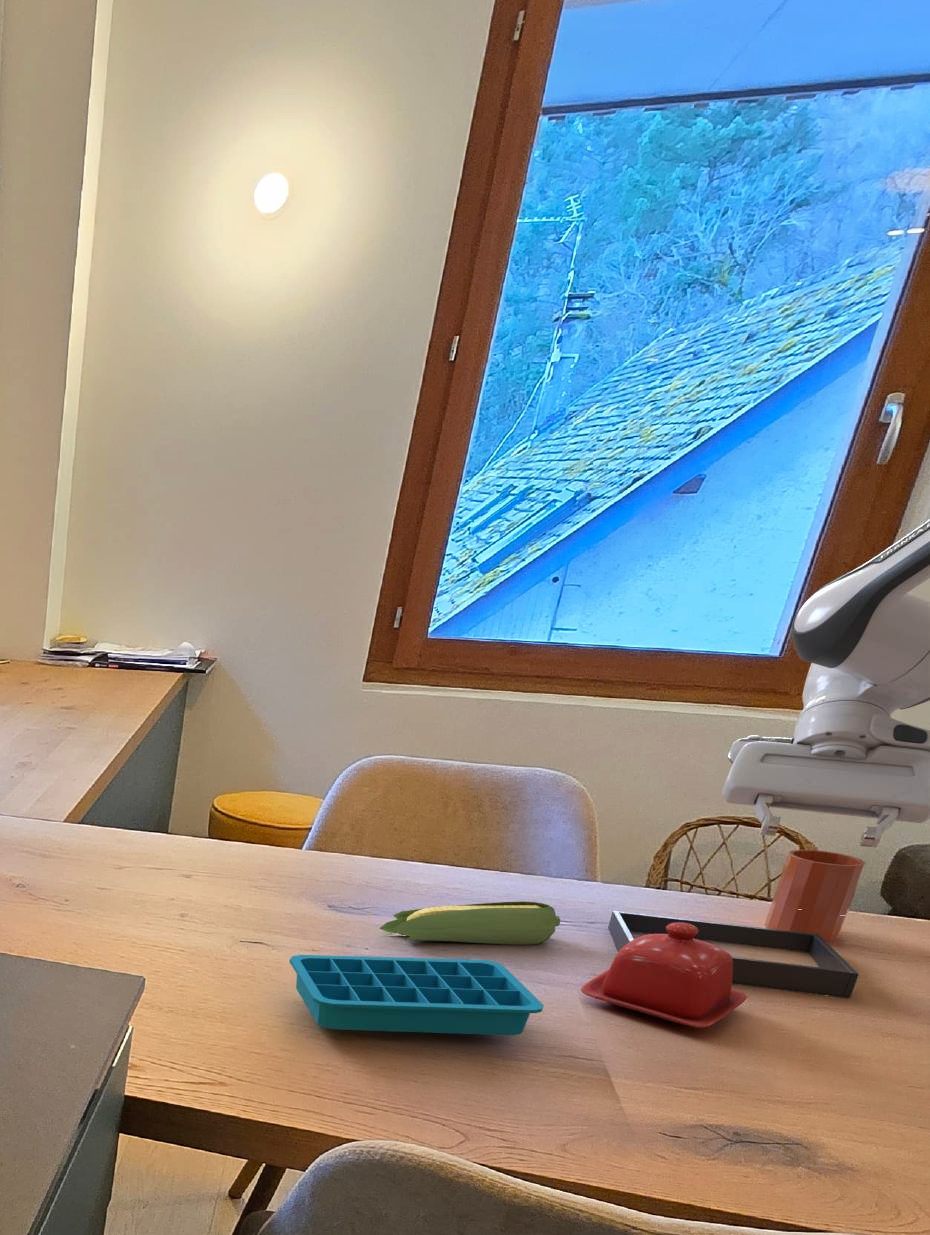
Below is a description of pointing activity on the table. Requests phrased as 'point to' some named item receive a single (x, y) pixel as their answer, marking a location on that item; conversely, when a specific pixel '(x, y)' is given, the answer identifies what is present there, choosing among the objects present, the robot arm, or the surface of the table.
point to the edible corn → (478, 923)
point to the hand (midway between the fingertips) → (818, 838)
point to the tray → (822, 980)
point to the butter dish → (670, 978)
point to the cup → (815, 893)
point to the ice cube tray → (413, 994)
